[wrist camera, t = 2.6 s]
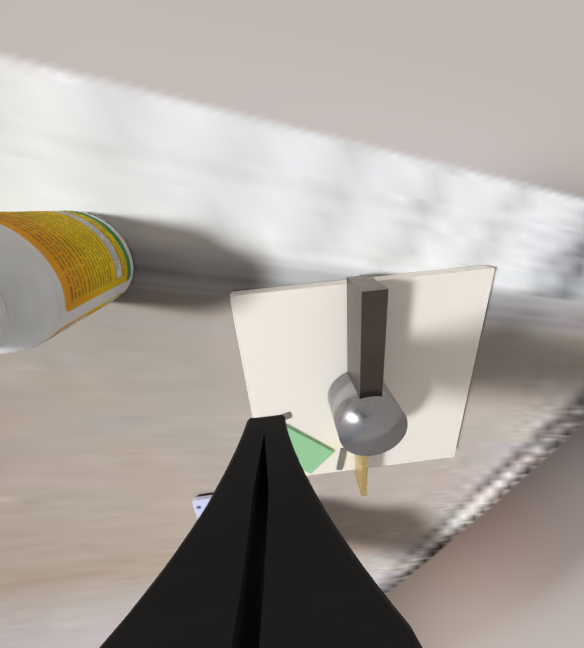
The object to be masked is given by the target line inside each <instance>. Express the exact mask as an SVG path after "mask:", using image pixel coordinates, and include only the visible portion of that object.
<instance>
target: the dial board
mask: <svg viewBox="0 0 584 648" xmlns="http://www.w3.org/2000/svg"><path fill="white" fill-rule="evenodd" d="M494 271H495V268H493V267H490V266H486V265H478V266H469V267H459V268H450V269H440V270H431V271H421V272H412V273H403V274H393V275H384V276H374V277H373V278H374V279H375V280H377V281H378V282H380V283H381V284H382V285H384V286H385V287H387V288H388V289H389V290H388V307H387V324H386V341H385V358H384V375H383V381H384V382H385V384H386V385H387V387H388V389H389V390H390V392H391V393H392V395H393V396H394V398H395V400H396V401H397V403H398V404H399V406H400V407H401V409H402V411H403V412H404V414H405V415H406V418H407V422H408V427H407V431H406V434H405V436H404V437H403V439H402V440H401V441H400V442H399V443H398V444H397V445H396V446H395V447H394V448H392V449H390V450H389V451H387V452H384V453H382V454H378V455H374V456H368V468H369V467H377V466H385V465H393V464H401V463H409V462H416V461H424V460H432V459H440V458H448V457H454V455H455V450H456V446H457V441H458V437H459V432H460V427H461V423H462V418H463V414H464V409H465V404H466V400H467V395H468V391H469V386H470V381H471V377H472V372H473V368H474V363H475V358H476V354H477V349H478V345H479V340H480V335H481V331H482V326H483V322H484V317H485V312H486V308H487V303H488V299H489V294H490V289H491V285H492V280H493V276H494ZM230 301H231V306H232V312H233V317H234V322H235V327H236V333H237V338H238V343H239V348H240V354H241V359H242V364H243V369H244V375H245V380H246V385H247V390H248V396H249V401H250V406H251V411H252V417H253V418H258V417H266V416H274V415H283V416H285V419H286V426H287V430H288V433H289V436H290V439H291V442H292V445H293V447H294V450H295V452H296V455H297V457H298V459H299V462H300V464H301V466H302V468H303V470H304V472H305V474H306V475H314V474H322V473H330V472H338V471H346V470H354V469H355V454H353V453H350V452H349V451H347V450H346V449H345V448H344V447H343V446H342V445H341V443H340V440H339V437H338V433H337V430H336V427H335V423H334V420H333V416H332V413H331V409H330V406H329V403H328V391H329V388H330V386H331V385H332V383H333V382H334V381H335V380H336V379H337V378H338V377H339V376H341V375H342V374H344V373H346V372H347V279H346V280H336V281H327V282H317V283H308V284H298V285H289V286H280V287H270V288H261V289H251V290H242V291H232V292H231V294H230Z"/></svg>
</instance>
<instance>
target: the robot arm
mask: <svg viewBox="0 0 584 648" xmlns="http://www.w3.org/2000/svg"><path fill="white" fill-rule="evenodd" d="M192 504H193V507H194V510H195V513H196V515H197V518H198V520H197V522H196V523H195V525H194V526H193V528H192V529H191V531H190V532H189V534H188V535H187V537H186V538H185V539H184V541H183V542H182V544H181V545H180V547H179V548H178V550H177V551H176V553H175V554H174V555H173V557H172V558H171V559H170V561H169V562H168V564H167V565H166V566H165V568H164V569H163V570H162V572H161V573H160V574H159V576H158V577H157V578H156V579H155V581H154V582H153V583H152V584H151V586H150V587H149V588H148V590H147V591H146V592H145V593H144V595H143V596H142V597H141V599H140V600H139V601H138V602H137V604H136V605H135V606H134V608H133V609H132V610H131V611H130V612H129V614H128V615H127V616H126V617H125V619H124V620H123V621H122V622H121V623H120V624H119V626H118V627H117V628H116V629H115V630H114V631H113V633H112V634H111V635H110V636H109V637H108V638H107V640H106V641H105V642H104V643H103V644H102V645H101V647H100V648H422V646H421V644H420V643H419V641H418V639H417V637H416V635H415V634H414V632H413V630H412V628H411V627H410V625H409V624H408V623H407V621H406V620H405V619H404V618H403V616H402V615H401V614H400V613H399V612H398V610H397V609H396V608H395V607H394V606H393V605H392V603H391V602H390V600H389V599H388V598H387V597H386V595H385V594H384V593H383V592H382V590H381V589H380V588H379V587H378V585H377V584H376V583H375V581H374V580H373V579H372V577H371V576H370V575H369V573H368V572H367V571H366V569H365V568H364V567H363V565H362V564H361V563H360V561H359V560H358V558H357V557H356V555H355V554H354V553H353V551H352V550H351V548H350V547H349V545H348V544H347V543H346V541H345V540H344V538H343V537H342V535H341V534H340V532H339V531H338V529H337V528H336V526H335V525H334V523H333V522H332V520H331V518H330V517H329V515H328V514H327V512H326V510H325V509H324V507H323V505H322V504H321V502H320V500H319V499H318V497H317V495H316V493H315V491H314V490H313V488H312V486H311V484H310V482H309V480H308V478H307V476H306V474H305V472H304V470H303V468H302V466H301V464H300V462H299V459H298V457H297V455H296V452H295V450H294V447H293V445H292V442H291V439H290V436H289V433H288V430H287V426H286V419H285V416H283V415H274V416H266V417H258V418H250V419H249V420H248V421H247V424H246V427H245V429H244V432H243V435H242V437H241V439H240V442H239V444H238V446H237V449H236V451H235V453H234V455H233V457H232V459H231V461H230V463H229V465H228V467H227V469H226V471H225V473H224V475H223V477H222V479H221V481H220V483H219V484H218V486H217V488H216V490H215V492H214V494H213V495H207V496H199V497H195V498H194V499H193V502H192Z"/></svg>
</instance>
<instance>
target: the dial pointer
mask: <svg viewBox="0 0 584 648" xmlns="http://www.w3.org/2000/svg"><path fill="white" fill-rule="evenodd" d="M388 290H389V289H388V288H387V287H385V286H384V285H382V284H381V283H380V282H378V281H377V280H375V279H374V278H373V277H371V276H370V275H365V276H355V277H347V372H346V373H344V374H342V375H341V376H339V377H338V378H337V379H336V380H335V381H334V382H333V383H332V385H331V386H330V388H329V391H328V403H329V406H330V409H331V413H332V416H333V420H334V423H335V427H336V430H337V433H338V437H339V440H340V443H341V445H342V446H343V447H344V448H345V449H346V450H347V451H349V452H350V453H353V454H355V476H356V480H357V483H358V486H359V489H360V493H361V496H367V471H368V456H374V455H378V454H382V453H384V452H387V451H389V450H390V449H392V448H394V447H395V446H396V445H397V444H398V443H399V442H400V441H401V440H402V439H403V437H404V436H405V434H406V431H407V427H408V422H407V418H406V415H405V414H404V412H403V411H402V409H401V407H400V406H399V404H398V403H397V401H396V400H395V398H394V396H393V395H392V393H391V392H390V390H389V389H388V387H387V385H386V384H385V382H384V381H383V375H384V358H385V341H386V324H387V307H388Z"/></svg>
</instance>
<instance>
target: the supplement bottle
mask: <svg viewBox="0 0 584 648" xmlns="http://www.w3.org/2000/svg"><path fill="white" fill-rule="evenodd" d="M133 272H134V267H133V261H132V257H131V253H130V251H129V248H128V246H127V244H126V242H125V241H124V239H123V238H122V236H121V235H120V234H119V233H118V232H117V231H116V230H115V229H114V228H113V227H112V226H111V225H109V224H108V223H106V222H105V221H103V220H102V219H100V218H98V217H96V216H94V215H91V214H88V213H84V212H79V211H28V212H0V353H14V352H20V351H24V350H27V349H30V348H33V347H36V346H38V345H40V344H42V343H43V342H45V341H47V340H49V339H51V338H52V337H54V336H55V335H57V334H59V333H60V332H62V331H64V330H65V329H67V328H69V327H70V326H72V325H74V324H75V323H77V322H78V321H80V320H82V319H83V318H85V317H87V316H88V315H90V314H92V313H93V312H95V311H97V310H98V309H100V308H102V307H104V306H105V305H107V304H109V303H110V302H112V301H113V300H115V299H116V298H118V297H119V296H121V295H122V294H123V293H124V292H125V291H126V290H127V288H128V287H129V285H130V283H131V281H132V277H133Z"/></svg>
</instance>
